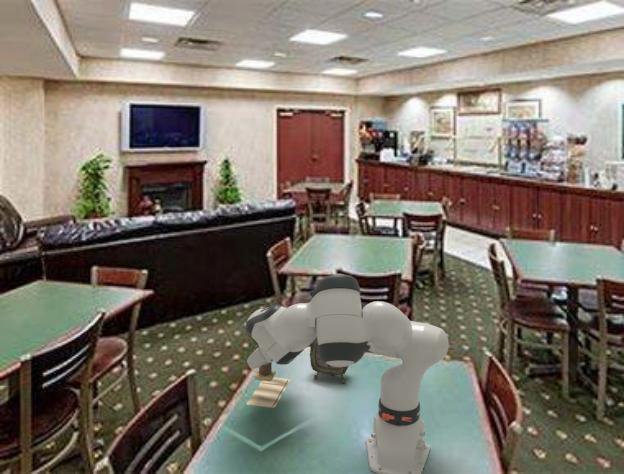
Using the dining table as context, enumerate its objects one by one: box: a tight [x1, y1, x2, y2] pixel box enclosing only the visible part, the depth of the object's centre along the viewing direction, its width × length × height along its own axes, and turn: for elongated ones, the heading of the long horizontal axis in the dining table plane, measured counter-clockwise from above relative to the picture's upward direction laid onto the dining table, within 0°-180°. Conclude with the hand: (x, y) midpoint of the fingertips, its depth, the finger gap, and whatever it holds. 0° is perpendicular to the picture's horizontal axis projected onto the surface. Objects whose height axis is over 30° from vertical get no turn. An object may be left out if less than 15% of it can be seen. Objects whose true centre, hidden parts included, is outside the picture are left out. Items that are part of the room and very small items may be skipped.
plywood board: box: [245, 376, 292, 409], centre depth 185 cm, size 22×10×2 cm, turn 168°
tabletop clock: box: [309, 337, 350, 384], centre depth 197 cm, size 14×9×25 cm, turn 73°
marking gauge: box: [254, 362, 276, 381], centre depth 178 cm, size 6×6×9 cm
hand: (263, 363), depth 178 cm, fingers closed on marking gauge, 3 cm apart
